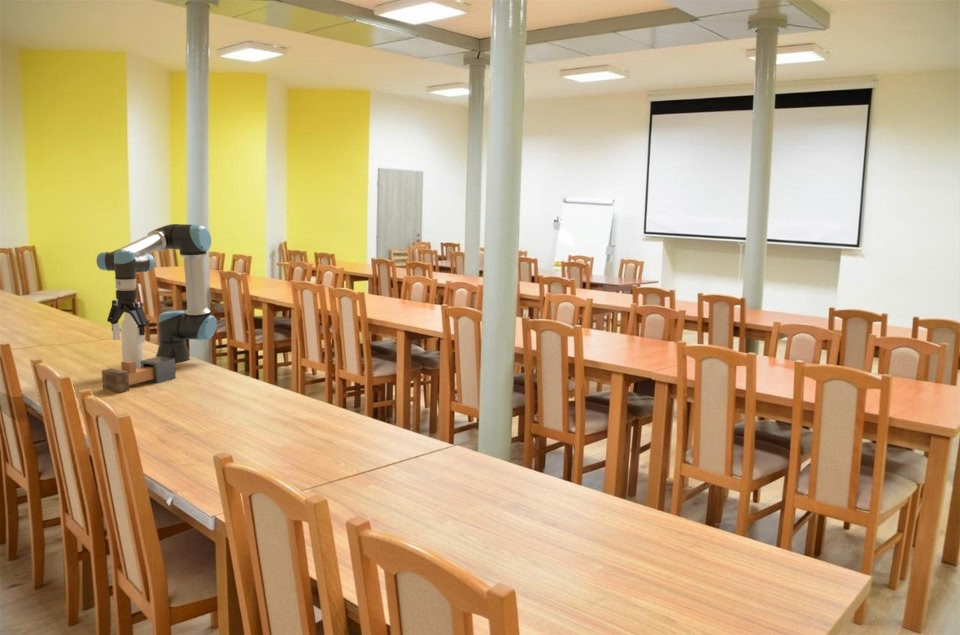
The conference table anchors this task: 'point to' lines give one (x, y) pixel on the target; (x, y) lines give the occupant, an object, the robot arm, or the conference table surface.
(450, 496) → the conference table surface
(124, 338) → the bottle
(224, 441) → the conference table surface
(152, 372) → the inner bar
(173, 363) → the sleeve
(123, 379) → the brown rectangular block
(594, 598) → the conference table surface
